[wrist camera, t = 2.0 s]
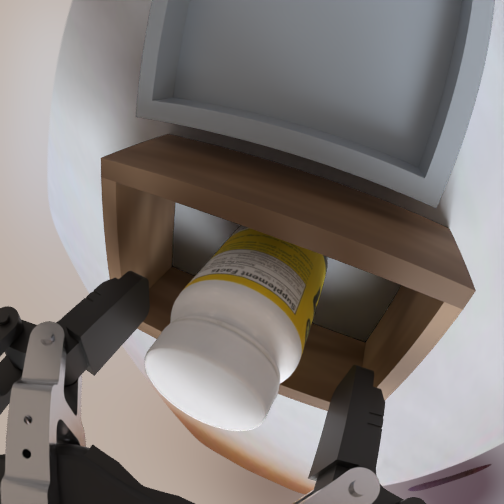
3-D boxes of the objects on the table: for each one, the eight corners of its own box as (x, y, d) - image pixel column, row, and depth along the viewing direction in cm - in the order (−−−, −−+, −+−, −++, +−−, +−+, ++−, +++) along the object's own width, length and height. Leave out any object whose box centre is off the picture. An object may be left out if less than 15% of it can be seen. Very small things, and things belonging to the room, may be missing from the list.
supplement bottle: (295, 308, 16) (235, 447, 9) (221, 259, 16) (124, 377, 10) (350, 247, 13) (312, 411, 7) (262, 187, 13) (145, 306, 7)
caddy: (167, 134, 14) (100, 157, 10) (449, 228, 11) (475, 290, 7) (160, 271, 19) (115, 316, 15) (371, 355, 16) (362, 421, 12)
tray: (204, -72, 7) (177, -89, 6) (479, -21, 5) (497, -38, 3) (167, 109, 13) (135, 116, 11) (425, 188, 11) (436, 208, 9)
